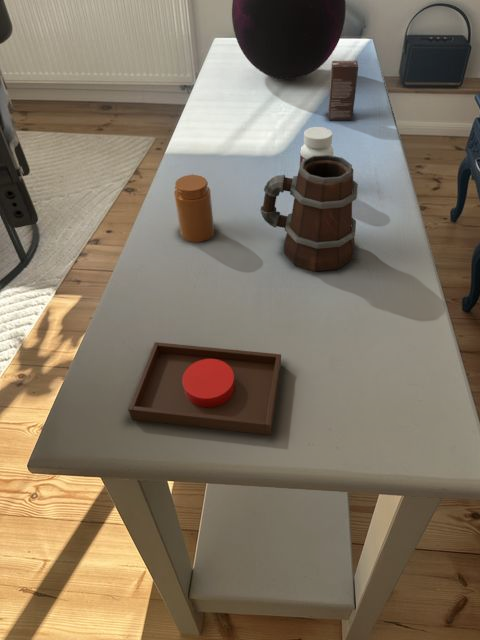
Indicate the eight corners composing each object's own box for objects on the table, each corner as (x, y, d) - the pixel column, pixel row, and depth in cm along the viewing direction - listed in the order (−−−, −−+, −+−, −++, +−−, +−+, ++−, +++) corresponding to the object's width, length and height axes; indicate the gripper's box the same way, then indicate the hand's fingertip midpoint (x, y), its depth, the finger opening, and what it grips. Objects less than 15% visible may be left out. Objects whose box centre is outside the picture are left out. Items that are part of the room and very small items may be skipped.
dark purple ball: (335, 59, 149) (347, -69, 126) (342, 96, 128) (358, -48, 106) (238, 58, 150) (233, -68, 127) (230, 95, 129) (222, -48, 107)
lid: (239, 370, 63) (238, 361, 62) (230, 410, 59) (229, 401, 58) (191, 365, 64) (189, 356, 63) (178, 404, 60) (176, 395, 58)
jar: (179, 242, 84) (171, 192, 77) (182, 223, 88) (174, 174, 81) (213, 241, 84) (208, 191, 77) (214, 222, 88) (210, 173, 81)
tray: (131, 419, 59) (127, 409, 58) (157, 352, 67) (154, 341, 65) (270, 435, 57) (270, 425, 56) (280, 364, 65) (281, 354, 63)
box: (351, 113, 121) (357, 59, 112) (352, 121, 118) (359, 66, 109) (327, 113, 121) (331, 59, 112) (327, 120, 118) (332, 66, 109)
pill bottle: (306, 179, 99) (309, 123, 90) (334, 186, 97) (340, 129, 88) (293, 193, 95) (295, 135, 87) (322, 200, 93) (327, 142, 85)
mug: (354, 233, 85) (366, 150, 74) (350, 276, 77) (364, 190, 66) (266, 225, 87) (266, 143, 76) (254, 266, 79) (252, 181, 68)
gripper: (-12, -34, 25) (78, 232, 37) (-17, -70, 34) (57, 154, 46) (-178, -20, 23) (-26, 255, 35) (-137, -62, 32) (-27, 169, 44)
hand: (21, 197), depth 41 cm, fingers open, 8 cm apart
